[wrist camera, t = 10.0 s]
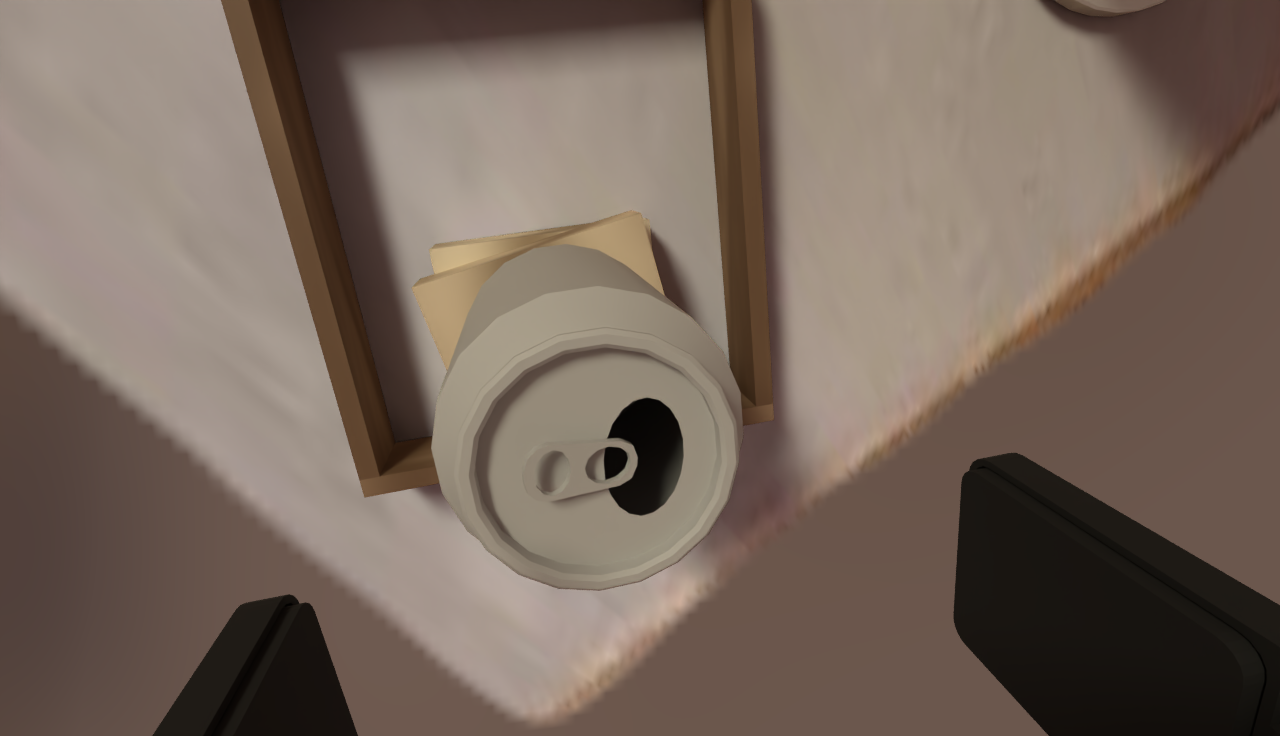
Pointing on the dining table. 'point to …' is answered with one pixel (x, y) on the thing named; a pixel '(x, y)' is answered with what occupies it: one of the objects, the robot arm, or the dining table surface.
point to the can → (585, 422)
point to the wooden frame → (328, 272)
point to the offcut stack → (479, 259)
